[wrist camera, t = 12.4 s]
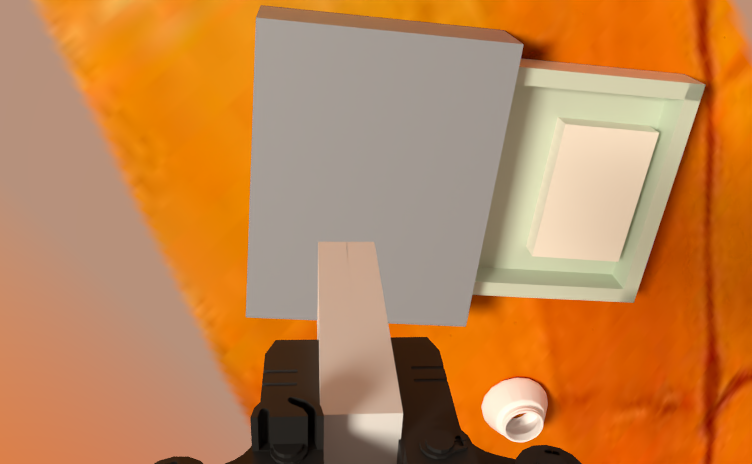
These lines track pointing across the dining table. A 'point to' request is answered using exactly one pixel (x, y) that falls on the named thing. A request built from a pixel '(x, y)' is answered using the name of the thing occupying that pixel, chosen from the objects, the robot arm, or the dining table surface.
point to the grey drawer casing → (374, 156)
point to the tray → (528, 161)
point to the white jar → (516, 408)
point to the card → (590, 189)
